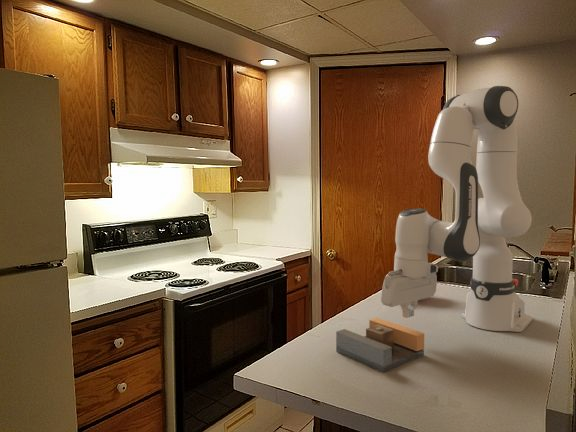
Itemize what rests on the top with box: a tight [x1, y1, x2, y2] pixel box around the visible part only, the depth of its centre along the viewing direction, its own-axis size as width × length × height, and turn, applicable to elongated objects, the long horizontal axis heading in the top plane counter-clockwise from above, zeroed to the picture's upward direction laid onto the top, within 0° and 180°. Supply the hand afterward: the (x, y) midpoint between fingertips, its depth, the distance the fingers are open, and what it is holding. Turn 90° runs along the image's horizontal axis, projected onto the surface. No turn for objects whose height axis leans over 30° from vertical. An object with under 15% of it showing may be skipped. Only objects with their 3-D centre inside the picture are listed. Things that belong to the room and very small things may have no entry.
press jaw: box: [368, 317, 425, 351], centre depth 117 cm, size 3×16×4 cm, turn 38°
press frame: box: [335, 328, 425, 374], centre depth 113 cm, size 16×16×6 cm
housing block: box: [365, 325, 394, 349], centre depth 113 cm, size 5×5×5 cm
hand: (408, 316), depth 121 cm, fingers closed
